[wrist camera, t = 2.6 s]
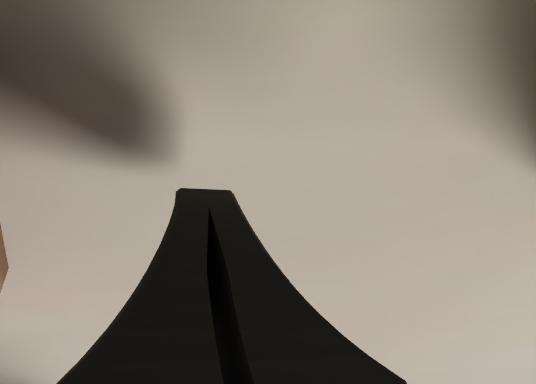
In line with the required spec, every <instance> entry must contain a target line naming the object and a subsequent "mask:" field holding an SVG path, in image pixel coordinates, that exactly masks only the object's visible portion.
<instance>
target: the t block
mask: <svg viewBox="0 0 536 384" xmlns="http://www.w3.org/2000/svg"><path fill="white" fill-rule="evenodd" d="M7 271H8V262H7V257H6V252H5V247H4V241H3V236H2V231H1V225H0V292H1V289H2V286H3V283H4V280H5V277H6V274H7Z"/></svg>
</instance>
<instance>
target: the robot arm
mask: <svg viewBox="0 0 536 384" xmlns="http://www.w3.org/2000/svg"><path fill="white" fill-rule="evenodd" d="M57 384H407V383H406V381H405V380H403V379H402V378H400V377H399V376H397V375H396V374H394V373H393V372H392V371H390V370H389V369H387V368H386V367H384V366H383V365H381V364H380V363H378V362H377V361H376V360H374V359H373V358H371V357H370V356H368V355H367V354H366V353H364V352H363V351H362V350H361V349H359V348H358V347H357V346H356V345H354V344H353V343H352V342H351V341H349V340H348V339H347V338H346V337H344V336H343V335H342V334H341V333H340V332H339V331H338V330H337V329H335V328H334V327H333V326H332V325H331V324H330V323H329V322H328V321H327V320H326V319H324V318H323V317H322V316H321V315H320V314H319V313H318V312H317V311H316V310H315V309H314V308H313V307H312V306H311V305H310V304H309V303H308V302H307V301H306V300H305V298H304V297H303V296H302V295H301V294H300V293H299V292H298V291H297V290H296V288H295V287H294V286H293V285H292V284H291V283H290V281H289V280H288V279H287V278H286V276H285V275H284V274H283V273H282V271H281V270H280V269H279V267H278V266H277V265H276V263H275V262H274V261H273V259H272V258H271V257H270V255H269V254H268V252H267V251H266V249H265V248H264V246H263V245H262V243H261V242H260V240H259V239H258V237H257V236H256V234H255V232H254V231H253V229H252V228H251V226H250V224H249V222H248V221H247V219H246V217H245V215H244V214H243V212H242V210H241V208H240V206H239V204H238V202H237V200H236V198H235V196H234V194H233V193H232V192H231V191H230V190H210V189H188V188H181V189H179V190H178V191H176V198H175V205H174V209H173V213H172V216H171V219H170V222H169V225H168V227H167V229H166V232H165V234H164V237H163V239H162V241H161V244H160V246H159V248H158V250H157V252H156V254H155V256H154V258H153V260H152V261H151V263H150V265H149V267H148V269H147V271H146V273H145V274H144V276H143V278H142V279H141V281H140V283H139V284H138V286H137V288H136V289H135V291H134V292H133V294H132V295H131V297H130V298H129V300H128V301H127V303H126V304H125V305H124V307H123V308H122V309H121V311H120V312H119V314H118V315H117V316H116V318H115V319H114V320H113V322H112V323H111V324H110V326H109V327H108V328H107V329H106V331H105V332H104V333H103V334H102V335H101V336H100V338H99V339H98V340H97V341H96V342H95V343H94V345H93V346H92V347H91V348H90V349H89V350H88V351H87V353H86V354H85V355H84V356H83V357H82V358H81V359H80V360H79V361H78V363H77V364H76V365H75V366H74V367H73V368H72V369H71V370H70V371H69V372H68V373H67V374H66V375H65V376H64V377H63V378H62V379H61V380H60V381H59V382H58V383H57Z"/></svg>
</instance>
